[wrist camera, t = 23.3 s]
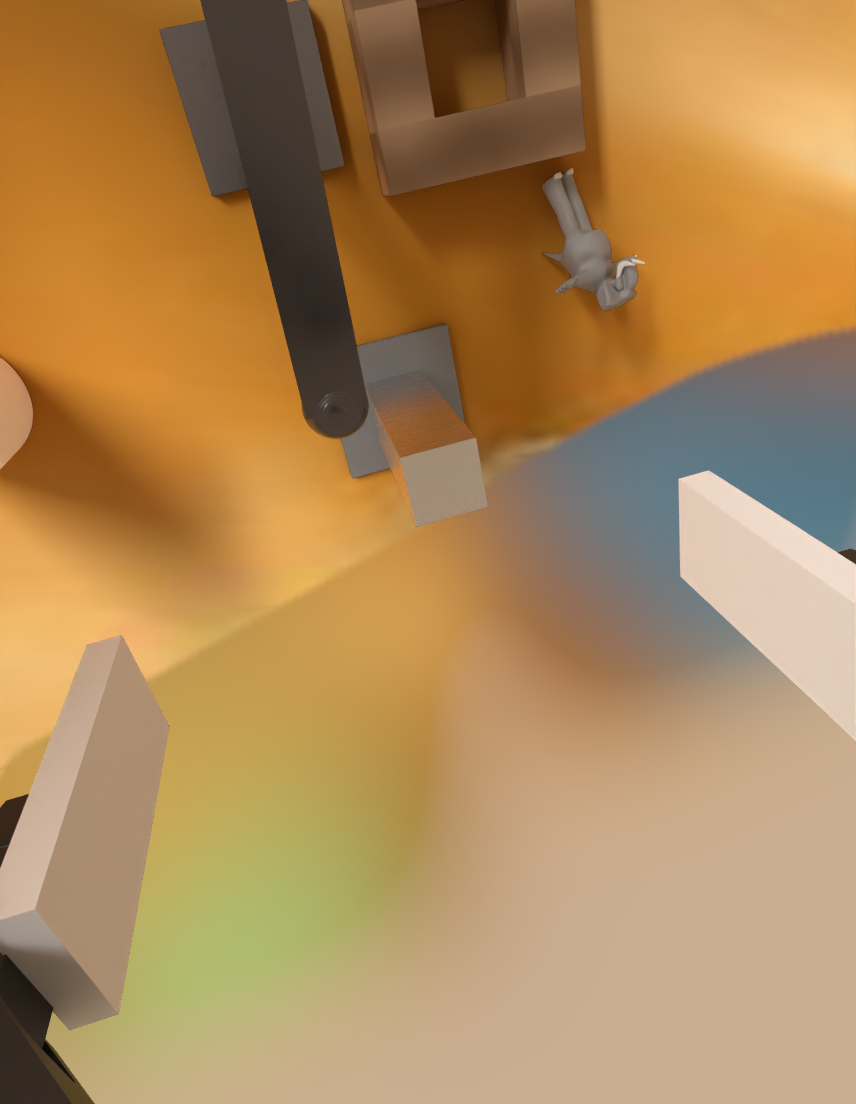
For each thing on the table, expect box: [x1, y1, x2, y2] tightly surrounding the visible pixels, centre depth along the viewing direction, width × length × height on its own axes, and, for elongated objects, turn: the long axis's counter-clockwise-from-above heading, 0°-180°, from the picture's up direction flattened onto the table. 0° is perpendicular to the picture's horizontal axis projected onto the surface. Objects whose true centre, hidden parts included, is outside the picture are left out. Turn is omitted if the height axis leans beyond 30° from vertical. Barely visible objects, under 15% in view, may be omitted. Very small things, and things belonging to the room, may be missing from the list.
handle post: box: [159, 0, 345, 196], centre depth 32 cm, size 8×8×17 cm
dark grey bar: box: [200, 0, 369, 439], centre depth 23 cm, size 3×28×4 cm, turn 9°
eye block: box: [342, 0, 586, 196], centre depth 39 cm, size 12×12×4 cm
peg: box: [365, 370, 488, 527], centre depth 42 cm, size 4×4×15 cm
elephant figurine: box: [542, 168, 645, 311], centre depth 45 cm, size 10×6×9 cm
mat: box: [341, 323, 465, 478], centre depth 49 cm, size 9×9×1 cm
